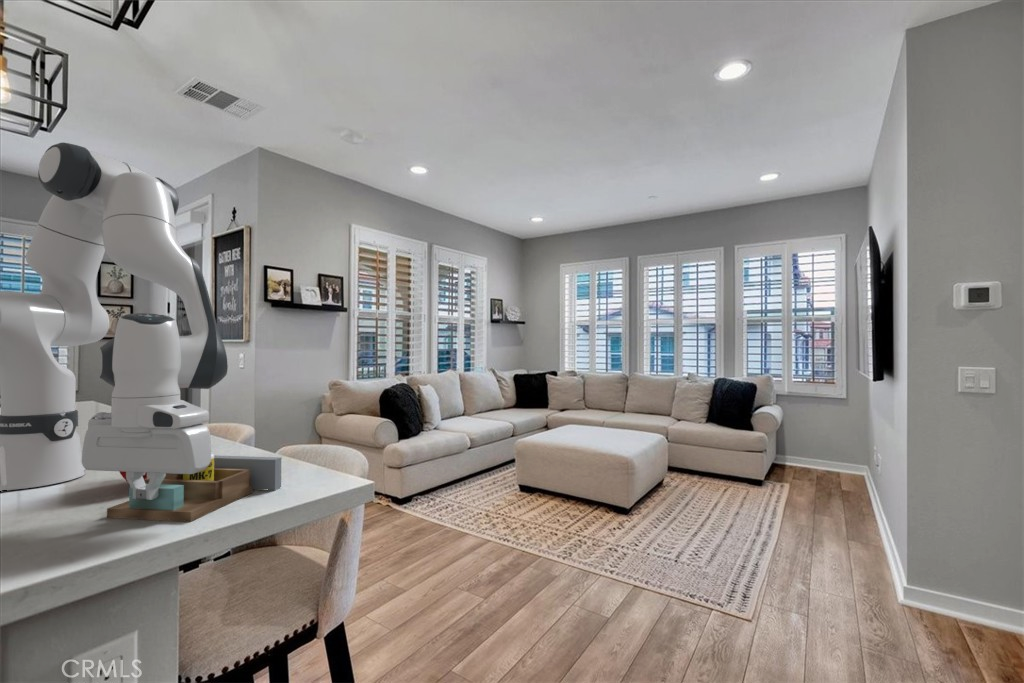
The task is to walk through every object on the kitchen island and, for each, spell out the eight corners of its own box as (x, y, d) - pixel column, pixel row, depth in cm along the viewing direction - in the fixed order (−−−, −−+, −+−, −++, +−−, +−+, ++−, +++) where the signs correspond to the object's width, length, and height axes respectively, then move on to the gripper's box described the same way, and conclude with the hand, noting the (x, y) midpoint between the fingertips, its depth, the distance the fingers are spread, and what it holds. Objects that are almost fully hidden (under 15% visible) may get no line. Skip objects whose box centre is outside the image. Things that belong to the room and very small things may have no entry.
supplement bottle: (186, 496, 83) (187, 449, 83) (179, 490, 87) (180, 445, 87) (217, 490, 87) (217, 445, 87) (209, 485, 90) (210, 441, 90)
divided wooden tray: (106, 517, 77) (107, 487, 77) (180, 490, 92) (181, 464, 92) (190, 521, 75) (191, 490, 75) (252, 492, 90) (252, 466, 90)
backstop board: (181, 486, 94) (181, 456, 94) (189, 484, 96) (189, 454, 96) (275, 490, 92) (275, 459, 92) (281, 487, 94) (281, 457, 94)
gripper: (69, 414, 74) (68, 502, 74) (188, 417, 72) (186, 508, 72) (108, 409, 80) (107, 490, 80) (218, 411, 78) (217, 495, 78)
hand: (145, 498), depth 76 cm, fingers closed
